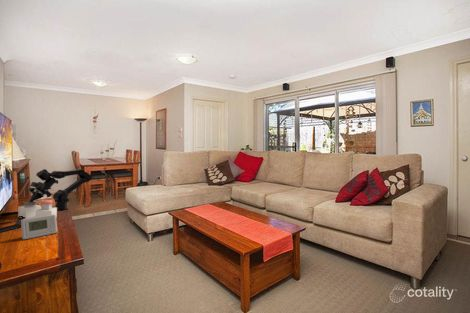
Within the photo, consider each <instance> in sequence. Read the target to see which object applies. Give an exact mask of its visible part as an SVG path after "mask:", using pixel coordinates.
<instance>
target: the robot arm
mask: <svg viewBox="0 0 470 313" xmlns="http://www.w3.org/2000/svg"><path fill="white" fill-rule="evenodd" d="M35 175H36V177H38V179H39V180H41V181H44V182H41V181H38V182H36V181H35V182H34V181H31V183H30V185H29V186H30V187H29V188H28V189H27V191H28V192H30V193H31V194H32V195H31V198H30V199H29V201H28V202H33V201H35V202H36V201H38V200H39V199H42V198H44V197H45V196H46V197H47V198H50V197H52V198H53V201H54V202H55V203H56V204H55V207H57V212H58V211H59V212H60V211H61V212H62V211H66V210H69V208H67V207H68V203H69V201H70V198H68V196H69V194H71V193H72V192H73V191H75V190H76V189H77V188H79V187H81V186H82V184H86V183H88V182H90V181H92V179H93V176H92V174H91V173H90V174H89V172H87V171H85V170H83V169H82V168H77V169H72V170H71V169H70V170H64V171H63V170H54V171H52V172H49V171H48V170H47V169H46V168H45V169H44V168H43V169H42V170H39V171H38V172H37V173H36V174H35ZM76 175H78V176H79V177H78V179H77V180H75V182H73V183H72V184H70V185H68V186H67V187H65V188H64V189H58V190H56V191H55V192H54V194H53V195H52V192H50V191H49V190H51V189H52V187H53V185H55V184H56V185H58V184H59V180H60V179H63V178H66V177H69V176H76ZM58 179H59V180H58Z"/></svg>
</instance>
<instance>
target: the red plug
mask: <svg viewBox="0 0 470 313" xmlns="http://www.w3.org/2000/svg"><path fill="white" fill-rule="evenodd" d="M53 201H54V200H52V199H51V200H50V199H49V200H47V199H45V200H41V201H40V204H41V205H40V206H41V210H50V209H52V208H53Z"/></svg>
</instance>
